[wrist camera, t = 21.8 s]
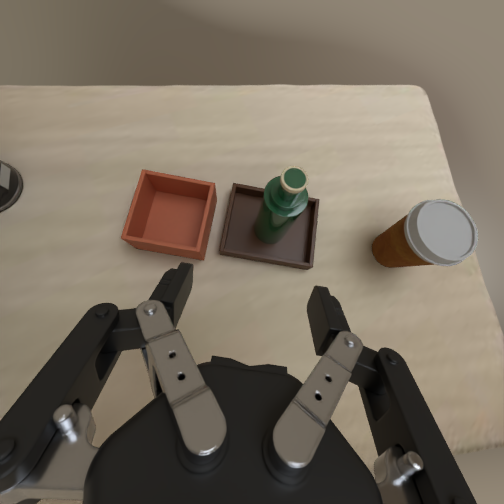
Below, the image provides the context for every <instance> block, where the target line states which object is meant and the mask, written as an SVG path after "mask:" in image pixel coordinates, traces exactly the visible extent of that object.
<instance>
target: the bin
mask: <svg viewBox="0 0 504 504" xmlns="http://www.w3.org/2000/svg"><path fill="white" fill-rule="evenodd" d="M216 203H217V197H216V189H215V183H211V182H206V181H201V180H195V179H190V178H185V177H180V176H174V175H169V174H164V173H159V172H153V171H148V170H143V169H142V172H141V175H140V178H139V182H138V185H137V188H136V191H135V194H134V197H133V201H132V204H131V207H130V210H129V213H128V216H127V220H126V223H125V226H124V229H123V232H122V236H121V239H123V240H124V241H126V242H127V243H129V244H131V245H132V246H134V247H135V248H137V249H142V250H148V251H153V252H159V253H165V254H170V255H176V256H182V257H188V258H193V259H199V260H204V258H205V253H206V249H207V244H208V239H209V235H210V230H211V226H212V221H213V216H214V212H215V207H216Z"/></svg>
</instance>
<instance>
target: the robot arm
mask: <svg viewBox="0 0 504 504" xmlns="http://www.w3.org/2000/svg"><path fill="white" fill-rule="evenodd" d="M21 190H22V178H21V175H20V174H19V172H18V171H17V170H16V169H15V168H13V167H12V166H10V165H9V164H7V163H4V162H3V161H1V160H0V211H2V210H4V209H6V208H8V207H9V206H11V205H12V204H13V203H14V202H15V201H16V200H17V198H18V197H19V195H20V193H21ZM192 282H193V264H190V263H184V262H181V263H180V265H179V267H178V269H172V268H171V269H170V270H168V271H167V272H165V274H164V275H163V277H162V279H161V280H160V282H159V284H158V285H157V287H156V288H155V290H154V291H153V293H152V295H151V296H150V298H149V300H148V301H144V302H142V303H141V304H139V305H138V306H137V308H134V309H125V310H118V307H117V306H116V305H114V304H112V303H101V304H98V305H95V306H93V307H92V308H90V309H89V310H88V311H87V313H86V314H85V315H84V316H83V318H82V319H81V320H80V321H79V323H78V324H77V325H76V326H75V328H74V329H73V330H72V331H71V333H70V334H69V335H68V336H67V338H66V339H65V340H64V342H63V343H62V344H61V345H60V347H59V348H58V349H57V350H56V352H55V353H54V354H53V355H52V357H51V358H50V359H49V360H48V362H47V363H46V364H45V365H44V367H43V368H42V369H41V370H40V372H39V373H38V374H37V376H36V377H35V378H34V379H33V381H32V382H31V383H30V384H29V386H28V387H27V388H26V389H25V391H24V392H23V393H22V394H21V396H20V397H19V398H18V399H17V401H16V402H15V403H14V405H13V406H12V407H11V408H10V410H9V411H8V412H7V413H6V415H5V416H4V417H3V418H2V420H1V421H0V504H36V503H37V502H38V501H40V500H41V499H57V500H83V504H477V503H476V501H475V499H474V497H473V495H472V493H471V491H470V489H469V487H468V485H467V483H466V481H465V479H464V477H463V475H462V473H461V471H460V469H459V467H458V465H457V463H456V461H455V459H454V457H453V455H452V453H451V451H450V449H449V447H448V445H447V443H446V441H445V439H444V437H443V435H442V433H441V431H440V429H439V428H438V426H437V424H436V422H435V420H434V418H433V416H432V414H431V412H430V410H429V408H428V406H427V404H426V402H425V400H424V398H423V396H422V394H421V392H420V390H419V388H418V386H417V384H416V382H415V380H414V378H413V376H412V374H411V372H410V370H409V368H408V366H407V364H406V362H405V360H404V359H403V358H402V357H401V356H400V355H399V354H398V353H397V352H395V351H394V350H392V349H389V348H381V349H380V350H379V351H378V352H377V351H374V350H372V349H370V348H367V347H365V346H363V344H362V342H361V340H360V339H359V338H358V337H357V336H356V335H355V334H353V333H351V331H350V328H349V326H348V323H347V320H346V318H345V315H344V313H343V310H342V308H341V305H340V303H339V301H338V300H337V299H336V298H335V297H334V296H331V295H330V293H329V290H328V288H327V287H322V286H315V287H314V289H313V291H312V294H311V296H310V298H309V301H308V304H307V314H308V319H309V324H310V328H311V333H312V338H313V342H314V347H315V352H316V355H318V356H322V357H321V359H320V360H319V362H318V363H317V365H316V366H315V368H314V369H313V371H312V372H311V374H310V375H309V377H308V378H307V380H306V381H305V383H304V384H302V383H301V382H300V381H299V380H298V379H296V378H295V377H293V376H292V375H290V374H287V367H284V366H277V365H270V364H266V365H256V366H248V365H245V364H243V363H240V362H238V361H236V360H233V359H231V358H224V357H218V356H212V358H211V362H205V363H201V364H198V365H196V363H195V361H194V359H193V357H192V355H191V353H190V351H189V349H188V347H187V345H186V343H185V340H184V338H183V336H182V334H181V332H180V331H179V330H175V328H176V326H177V323H178V321H179V319H180V316H181V314H182V311H183V309H184V306H185V304H186V302H187V299H188V297H189V294H190V292H191V288H192ZM138 348H140V350H141V353H142V356H143V359H144V362H145V366H146V369H147V372H148V375H149V379H150V384H151V389H152V392H153V396H154V399H153V400H152V401H151V402H150V403H148V404H147V405H146V406H145V407H144V408H142V409H141V410H140V411H139V412H138V413H136V414H135V415H134V416H133V417H132V418H131V419H129V420H128V421H127V422H126V423H125V424H123V425H122V426H121V427H120V428H119V429H117V430H116V431H115V432H114V433H113V434H112V435H110V436H109V437H108V438H107V439H106V441H105V442H104V443H103V444H102V445H101V447H100V448H97V447H94V446H93V445H92V442H93V438H94V435H95V431H96V424H95V421H94V418H93V416H92V413H91V410H92V408H93V406H94V404H95V402H96V400H97V398H98V396H99V394H100V392H101V391H102V389H103V387H104V385H105V383H106V381H107V379H108V377H109V375H110V373H111V371H112V369H113V368H114V366H115V364H116V362H117V360H118V358H119V356H120V354H121V352H122V351H124V350H131V349H138ZM348 381H349V382H351V383H354V384H356V385H358V387H359V390H360V394H361V397H362V401H363V404H364V408H365V411H366V415H367V418H368V422H369V425H370V429H371V432H372V436H373V439H374V443H375V446H376V450H377V453H378V458H377V459H376V460H375V462H374V474H375V479H374V477H373V476H372V474H371V472H370V471H369V469H368V468H367V466H366V465H365V464H364V462H363V461H362V460H361V458H360V457H359V456H358V455H357V453H356V452H355V451H354V449H353V448H352V447H351V445H350V444H349V443H348V442H347V440H346V439H345V438H344V436H343V435H342V434H341V432H340V431H339V430H338V428H337V427H336V426H335V425H334V423H333V422H332V421H331V419H330V418H331V416H332V414H333V412H334V410H335V408H336V406H337V404H338V402H339V400H340V397H341V395H342V393H343V391H344V389H345V387H346V385H347V383H348Z"/></svg>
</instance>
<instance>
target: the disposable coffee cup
mask: <svg viewBox="0 0 504 504" xmlns="http://www.w3.org/2000/svg"><path fill="white" fill-rule="evenodd" d="M477 242H478V232H477V228H476V225H475V223H474V221H473V219H472V218H471V216H470V215H469V213H468V212H467V211H466V210H465V209H464V208H462V207H461V206H460V205H458V204H456V203H454V202H452V201H449V200H444V199H437V200H427V201H423V202H420V203H419V204H417V205H415V206H414V207H413V208H412V209H411V211H410V212H409V214H408V215H406V216H405V217H404V218H402V219H401V220H399V221H398V222H397V223H395V224H394V225H393V226H391V227H390V228H389V229H387V230H386V231H385V232H383V233H382V234H380V235H379V236H378V237H376V238H375V240H374V241H373V244H372V252H373V255H374V257H375V259H376V260H377V261H378V262H379V263H380V264H381V265H383V266H385V267H406V266H420V265H434V264H435V265H440V266H452V265H456V264H458V263H460V262H462V261H463V260H464V259H465V258H467V257H468V256H470V255H471V254H472V253H473V252H474V250H475V248H476V246H477Z"/></svg>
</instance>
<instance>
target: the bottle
mask: <svg viewBox="0 0 504 504" xmlns="http://www.w3.org/2000/svg"><path fill="white" fill-rule="evenodd" d="M307 184H308V175H307V173H306V172H305V171H304V170H303V169H302V168H300V167H297V166H290V167H287V168H286V169H284V171H283V172H282V174H281V176H278V177H275V178H273V179H272V180H271V181H269V183H268V184H267V185H266V187H265V190H264V193H263V197H262V200H261V204H260V207H259V211H258V214H257V218H256V221H255V225H254V232H255V235H256V236H257V238H258V239H259V240H260V241H262V242H263V243H266V244H275V243H278V242H280V241H281V240H282V239H283V238H284V236H285V235H286V234H287V232H288V231H289V230H290V228H291V227H292V225H293V224H294V223H295V221H296V220H297V219H298V217H299V216H300V215H301V213H302V212H303V211H304V209H305V208H306V206H307V203H308V193H307V190H306V186H307Z"/></svg>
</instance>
